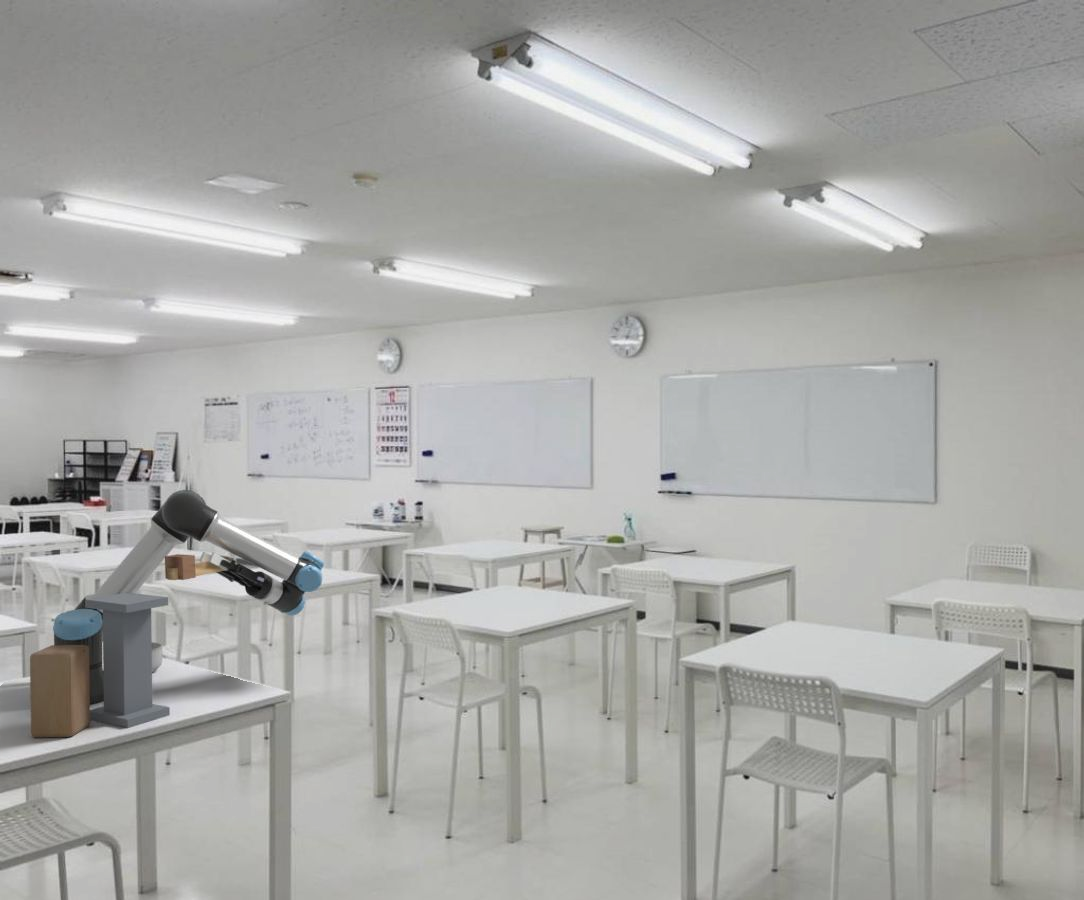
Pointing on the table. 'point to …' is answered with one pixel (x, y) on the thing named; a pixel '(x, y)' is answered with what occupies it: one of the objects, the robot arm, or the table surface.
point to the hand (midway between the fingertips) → (206, 556)
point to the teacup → (156, 655)
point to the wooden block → (59, 690)
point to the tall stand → (127, 659)
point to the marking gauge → (188, 567)
